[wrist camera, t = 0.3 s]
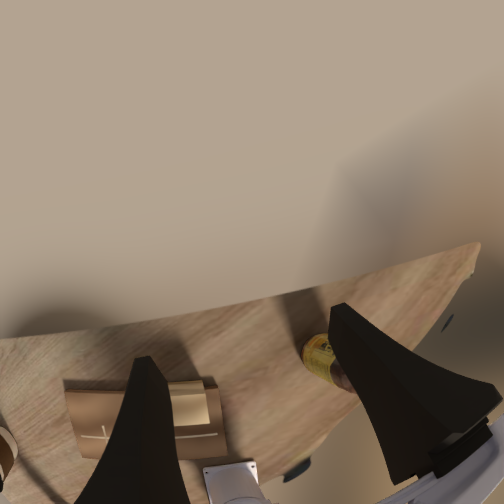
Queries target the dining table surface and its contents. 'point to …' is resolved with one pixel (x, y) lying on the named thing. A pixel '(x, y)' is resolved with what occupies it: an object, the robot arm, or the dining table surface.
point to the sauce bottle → (324, 362)
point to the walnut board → (106, 411)
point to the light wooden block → (188, 403)
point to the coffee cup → (6, 454)
